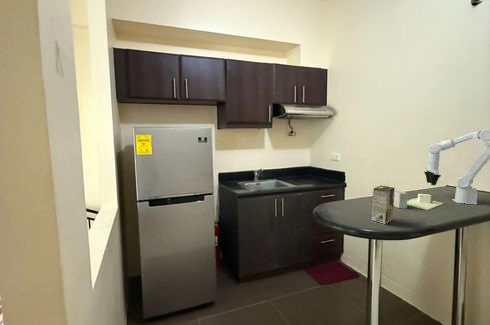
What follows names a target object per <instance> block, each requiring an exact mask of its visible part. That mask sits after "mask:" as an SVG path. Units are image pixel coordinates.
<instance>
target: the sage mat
mask: <svg viewBox="0 0 490 325" xmlns="http://www.w3.org/2000/svg"><path fill="white" fill-rule="evenodd" d="M442 205H444V202H441V201H435V200H433V201H432V203H419V202H418V197H416V198H411V199H409V200H408V199H407V207H408V206H409V207H413V208H417V209H422V210H426V211H429V210H432V209H434V208H437V207H440V206H442Z"/></svg>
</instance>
